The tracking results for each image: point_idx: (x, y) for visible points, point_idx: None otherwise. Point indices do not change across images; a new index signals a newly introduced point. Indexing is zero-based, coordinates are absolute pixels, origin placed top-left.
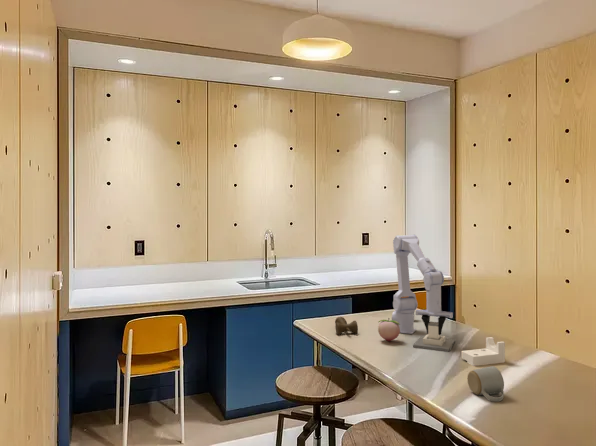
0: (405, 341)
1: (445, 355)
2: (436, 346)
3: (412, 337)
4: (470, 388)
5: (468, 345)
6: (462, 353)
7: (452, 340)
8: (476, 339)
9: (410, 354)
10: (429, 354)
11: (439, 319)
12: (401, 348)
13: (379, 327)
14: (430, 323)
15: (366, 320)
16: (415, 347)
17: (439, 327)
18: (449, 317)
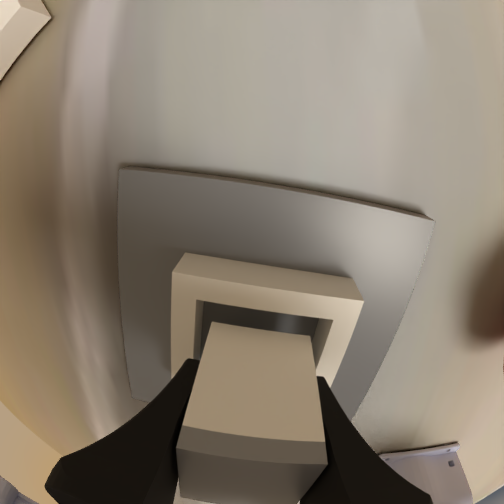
0: (447, 342)
1: (150, 55)
2: (229, 219)
3: (388, 419)
4: None
5: (60, 340)
6: (26, 2)
7: (140, 388)
8: (72, 421)
9: (428, 25)
10: (284, 39)
11: (113, 497)
12: (494, 172)
13: None
14: (293, 471)
15: (476, 486)
16: (409, 212)
17: (169, 413)
18: (5, 486)
